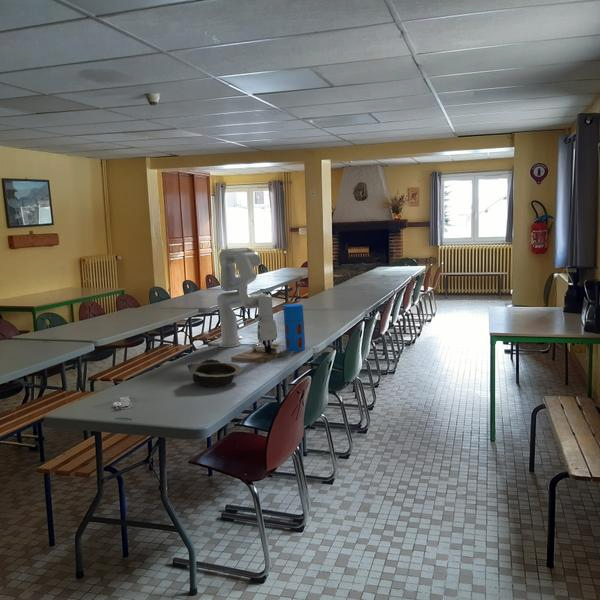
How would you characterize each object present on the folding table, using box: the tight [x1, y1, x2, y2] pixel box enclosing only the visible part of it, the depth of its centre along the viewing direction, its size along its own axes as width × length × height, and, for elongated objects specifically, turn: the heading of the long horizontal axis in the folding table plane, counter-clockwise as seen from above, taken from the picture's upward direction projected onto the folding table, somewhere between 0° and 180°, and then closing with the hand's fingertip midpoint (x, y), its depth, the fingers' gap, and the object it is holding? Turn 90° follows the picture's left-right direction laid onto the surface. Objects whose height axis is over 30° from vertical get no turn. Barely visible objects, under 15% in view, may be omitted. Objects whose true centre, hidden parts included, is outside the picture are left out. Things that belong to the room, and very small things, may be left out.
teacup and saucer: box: [112, 396, 131, 408], centre depth 239 cm, size 9×8×4 cm
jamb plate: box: [230, 349, 285, 365], centre depth 314 cm, size 20×20×2 cm
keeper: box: [271, 342, 280, 347], centre depth 318 cm, size 2×5×4 cm, turn 59°
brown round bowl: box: [187, 359, 243, 388], centre depth 267 cm, size 25×25×9 cm
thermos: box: [283, 303, 306, 353], centre depth 328 cm, size 11×11×25 cm
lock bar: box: [251, 342, 281, 354], centre depth 317 cm, size 17×4×4 cm, turn 53°
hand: (268, 352), depth 312 cm, fingers closed
